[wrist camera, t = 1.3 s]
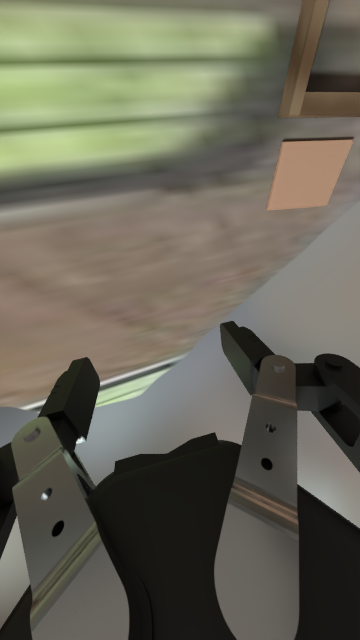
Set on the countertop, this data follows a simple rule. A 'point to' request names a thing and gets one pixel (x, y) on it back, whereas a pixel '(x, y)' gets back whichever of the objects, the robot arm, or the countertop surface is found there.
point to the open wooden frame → (301, 62)
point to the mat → (307, 173)
